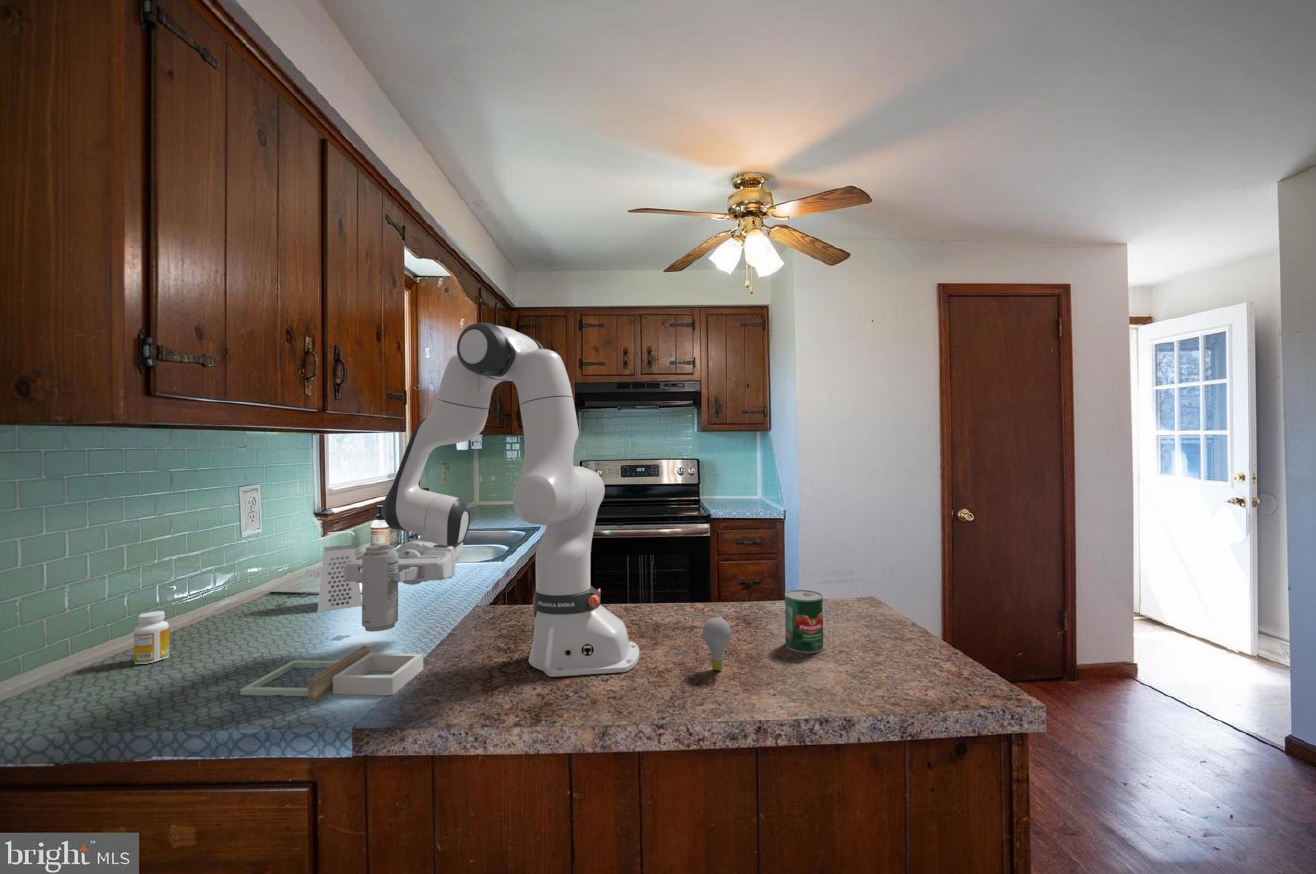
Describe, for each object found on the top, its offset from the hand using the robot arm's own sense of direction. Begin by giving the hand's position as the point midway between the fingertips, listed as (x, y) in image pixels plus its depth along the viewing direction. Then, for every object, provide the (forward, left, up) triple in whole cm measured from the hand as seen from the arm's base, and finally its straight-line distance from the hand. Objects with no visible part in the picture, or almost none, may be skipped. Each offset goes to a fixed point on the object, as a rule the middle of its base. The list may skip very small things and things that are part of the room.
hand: (377, 578), depth 102 cm
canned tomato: (-82, -21, -20) cm, 87 cm away
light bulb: (-63, -8, -20) cm, 66 cm away
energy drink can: (0, 0, -9) cm, 10 cm away
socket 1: (+16, -1, -19) cm, 25 cm away
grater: (+40, -49, -20) cm, 66 cm away
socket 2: (0, -1, -19) cm, 19 cm away
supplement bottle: (+54, -9, -20) cm, 58 cm away
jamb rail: (+8, -1, -19) cm, 21 cm away
